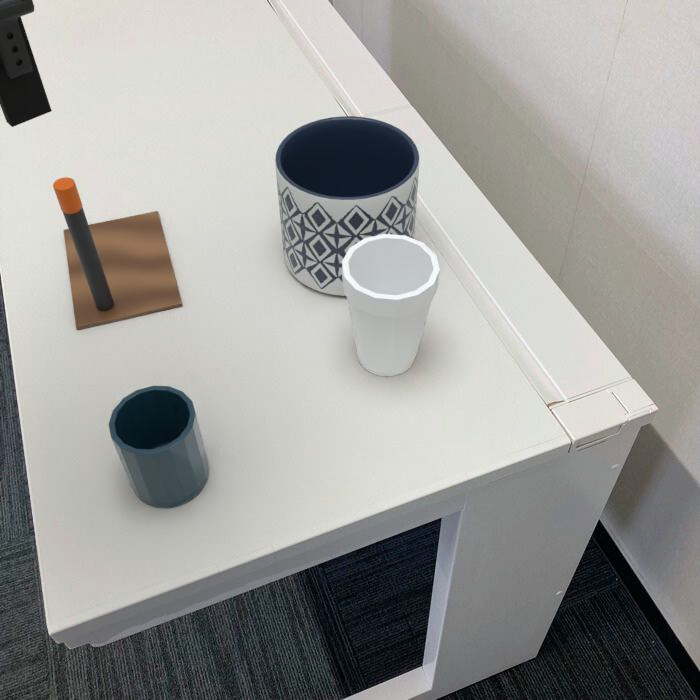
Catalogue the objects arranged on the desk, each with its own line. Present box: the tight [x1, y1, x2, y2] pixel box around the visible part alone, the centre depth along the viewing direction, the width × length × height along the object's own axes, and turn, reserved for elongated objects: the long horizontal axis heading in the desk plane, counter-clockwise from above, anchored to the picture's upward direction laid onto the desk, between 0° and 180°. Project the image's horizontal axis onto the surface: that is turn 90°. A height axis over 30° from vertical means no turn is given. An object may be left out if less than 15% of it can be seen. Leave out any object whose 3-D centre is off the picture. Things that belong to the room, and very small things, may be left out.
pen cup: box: [108, 385, 210, 509], centre depth 71 cm, size 7×7×9 cm
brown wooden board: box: [63, 210, 184, 331], centre depth 94 cm, size 18×12×1 cm, turn 18°
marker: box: [52, 176, 114, 311], centre depth 82 cm, size 2×2×17 cm
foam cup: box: [342, 234, 441, 377], centre depth 79 cm, size 10×9×13 cm
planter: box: [274, 115, 420, 297], centre depth 90 cm, size 16×16×14 cm
